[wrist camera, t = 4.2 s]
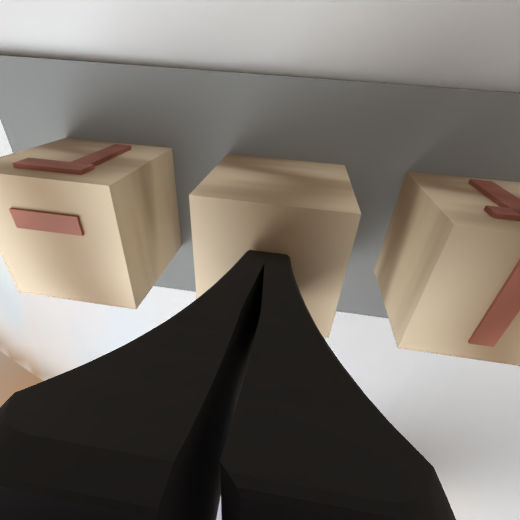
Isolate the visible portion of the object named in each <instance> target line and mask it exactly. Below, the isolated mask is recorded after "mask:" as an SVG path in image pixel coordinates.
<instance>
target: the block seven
mask: <svg viewBox="0 0 520 520" xmlns="http://www.w3.org/2000/svg"><path fill="white" fill-rule="evenodd" d="M181 246H182V244H181V234H180V224H179V214H178V203H177V193H176V183H175V172H174V162H173V152H172V148H167V147H156V146H146V145H136V144H125V143H115V142H105V141H94V140H84V139H74V138H63V139H60V140H57V141H53V142H50V143H46V144H43V145H40V146H36V147H33V148H30V149H26V150H23V151H19V152H16V153H13V154H9V155H6V156H3V157H0V254H1V256H2V258H3V260H4V262H5V264H6V266H7V268H8V271H9V273H10V275H11V277H12V279H13V281H14V283H15V285H16V287H17V289H18V291H19V292H21V293H28V294H35V295H42V296H49V297H55V298H62V299H69V300H76V301H83V302H90V303H96V304H103V305H110V306H117V307H124V308H131V309H137V308H138V306H139V305H140V303H141V302H142V301H143V299H144V298H145V296H146V295H147V294H148V292H149V291H150V289H151V288H152V287H153V285H154V284H155V282H156V281H157V280H158V278H159V277H160V275H161V274H162V273H163V271H164V270H165V268H166V267H167V266H168V264H169V263H170V262H171V260H172V259H173V257H174V256H175V255H176V253H177V252H178V250H179V249H180V248H181Z"/></svg>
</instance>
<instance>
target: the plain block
mask: <svg viewBox="0 0 520 520" xmlns="http://www.w3.org/2000/svg"><path fill="white" fill-rule="evenodd" d="M189 203H190V216H191V230H192V243H193V257H194V270H195V284H196V297H197V298H199V297H200V296H201V295H202V294H203V293H205V292H206V291H207V290H208V289H209V288H211V287H212V286H213V285H214V284H215V283H216V282H217V281H218V280H219V279H220V278H222V277H223V276H224V275H225V274H226V273H227V272H228V271H229V270H230V269H231V268H232V267H233V266H234V265H235V264H236V263H237V262H238V260H239V259H240V258H241V257H242V256H243V255H244V254H245V253H246V252H247V251H248V250H255V251H263V252H271V253H279V254H287V255H288V256H289V257H290V261H291V267H292V271H293V274H294V277H295V280H296V283H297V286H298V288H299V291H300V293H301V295H302V298H303V300H304V302H305V305H306V307H307V309H308V311H309V313H310V315H311V317H312V319H313V320H314V322H315V324H316V326H317V328H318V329H319V331H320V333H321V334H322V336H323V337H328V338H329V335H330V331H331V327H332V324H333V320H334V316H335V312H336V308H337V305H338V301H339V297H340V293H341V290H342V286H343V282H344V278H345V274H346V271H347V267H348V263H349V259H350V255H351V252H352V248H353V244H354V240H355V236H356V233H357V229H358V225H359V221H360V217H361V211H360V208H359V206H358V203H357V200H356V197H355V194H354V191H353V188H352V185H351V182H350V179H349V176H348V173H347V170H346V167H345V165H339V164H329V163H318V162H308V161H298V160H288V159H277V158H267V157H257V156H246V155H236V154H227V155H226V156H225V157H224V158H223V159H222V160H221V161H220V162H219V164H218V165H217V166H216V167H215V168H214V169H213V170H212V171H211V172H210V173H209V174H208V175H207V176H206V177H205V178H204V179H203V181H202V182H201V183H200V184H199V185H198V186H197V187H196V188H195V189H194V190H193V191H192V192H191V193H190V194H189Z"/></svg>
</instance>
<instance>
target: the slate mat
mask: <svg viewBox="0 0 520 520" xmlns="http://www.w3.org/2000/svg"><path fill="white" fill-rule="evenodd" d="M0 119H1V122H2V124H3V127H4V130H5V132H6V135H7V138H8V140H9V143H10V146H11V148H12V151H13V153H16V152H19V151H23V150H26V149H30V148H33V147H36V146H40V145H43V144H46V143H50V142H53V141H57V140H60V139H63V138H74V139H84V140H94V141H105V142H115V143H125V144H136V145H146V146H156V147H167V148H172V152H173V162H174V172H175V183H176V193H177V203H178V214H179V224H180V234H181V244H182V246H181V248H180V249H179V250H178V252H177V253H176V255H175V256H174V257H173V259H172V260H171V262H170V263H169V264H168V266H167V267H166V268H165V270H164V271H163V273H162V274H161V275H160V277H159V278H158V280H157V281H156V282H155V284H154V285H153V286H159V287H166V288H173V289H181V290H188V291H195V292H196V284H195V270H194V257H193V243H192V230H191V216H190V203H189V194H190V193H191V192H192V191H193V190H194V189H195V188H196V187H197V186H198V185H199V184H200V183H201V182H202V181H203V179H204V178H205V177H206V176H207V175H208V174H209V173H210V172H211V171H212V170H213V169H214V168H215V167H216V166H217V165H218V164H219V162H220V161H221V160H222V159H223V158H224V157H225V156H226V155H227V154H236V155H246V156H257V157H267V158H277V159H288V160H298V161H308V162H318V163H329V164H339V165H345V167H346V170H347V173H348V176H349V179H350V182H351V185H352V188H353V191H354V194H355V197H356V200H357V203H358V206H359V208H360V211H361V217H360V221H359V225H358V229H357V233H356V236H355V240H354V244H353V248H352V252H351V255H350V259H349V263H348V267H347V271H346V274H345V278H344V282H343V286H342V290H341V293H340V297H339V301H338V305H337V308H336V311H340V312H347V313H354V314H361V315H368V316H376V317H383V318H388V314H387V311H386V308H385V305H384V301H383V298H382V295H381V292H380V288H379V285H378V282H377V279H376V275H375V272H374V269H375V266H376V263H377V260H378V257H379V254H380V250H381V247H382V244H383V241H384V238H385V235H386V232H387V229H388V226H389V223H390V220H391V217H392V213H393V210H394V207H395V204H396V201H397V198H398V195H399V192H400V189H401V186H402V183H403V180H404V176H405V173H406V171H408V172H419V173H429V174H439V175H450V176H460V177H470V178H480V179H491V180H501V181H511V182H520V93H511V92H497V91H484V90H470V89H456V88H443V87H429V86H415V85H402V84H388V83H374V82H361V81H347V80H333V79H320V78H306V77H293V76H279V75H265V74H252V73H238V72H224V71H211V70H197V69H183V68H170V67H156V66H142V65H129V64H115V63H101V62H88V61H74V60H61V59H47V58H33V57H20V56H6V55H0Z"/></svg>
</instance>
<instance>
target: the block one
mask: <svg viewBox="0 0 520 520" xmlns="http://www.w3.org/2000/svg"><path fill="white" fill-rule="evenodd" d="M374 272H375V275H376V279H377V282H378V285H379V288H380V292H381V295H382V298H383V301H384V305H385V308H386V311H387V314H388V318H389V321H390V324H391V327H392V331H393V334H394V337H395V340H396V344H397V347H398V348H402V349H408V350H415V351H422V352H429V353H436V354H443V355H449V356H456V357H463V358H470V359H477V360H484V361H490V362H497V363H504V364H511V365H518V366H520V182H511V181H501V180H491V179H480V178H470V177H460V176H450V175H439V174H429V173H419V172H408V171H406V173H405V176H404V180H403V183H402V186H401V189H400V192H399V195H398V198H397V201H396V204H395V207H394V210H393V213H392V217H391V220H390V223H389V226H388V229H387V232H386V235H385V238H384V241H383V244H382V247H381V250H380V254H379V257H378V260H377V263H376V266H375V269H374Z"/></svg>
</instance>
